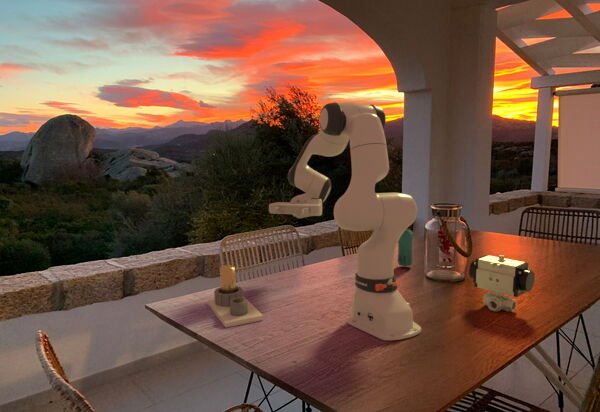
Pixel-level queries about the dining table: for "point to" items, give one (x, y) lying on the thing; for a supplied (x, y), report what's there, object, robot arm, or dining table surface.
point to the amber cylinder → (228, 279)
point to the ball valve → (501, 280)
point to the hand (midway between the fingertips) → (288, 211)
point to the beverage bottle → (405, 248)
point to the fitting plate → (235, 319)
